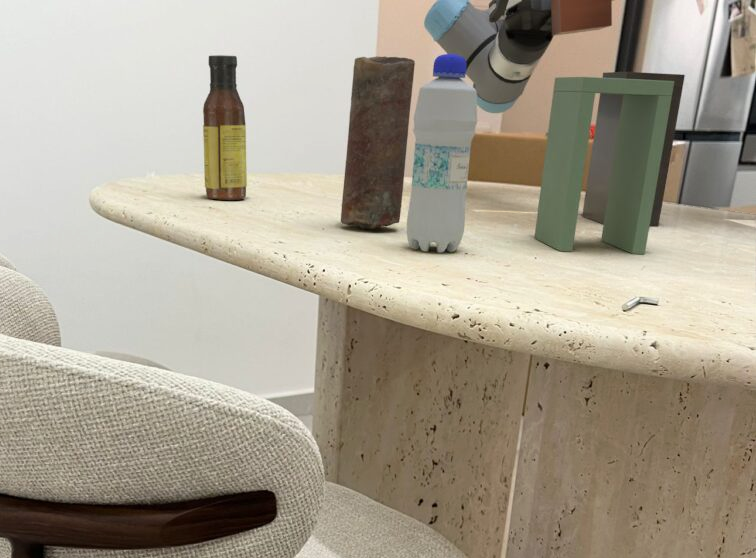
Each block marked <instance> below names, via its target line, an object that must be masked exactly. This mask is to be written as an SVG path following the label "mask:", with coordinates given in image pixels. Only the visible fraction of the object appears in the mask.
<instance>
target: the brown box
mask: <svg viewBox="0 0 756 558" xmlns="http://www.w3.org/2000/svg"><path fill="white" fill-rule="evenodd" d="M612 3H613V1H612V0H551V17H552V36H553V37H554V36H563V35H569V34H576V33H584V32H592V31H593V32H594V31H600V30H602V29H606V28H609V27H611V26H613V12H612V11H613V7H612V6H613V5H612Z"/></svg>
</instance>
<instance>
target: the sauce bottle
mask: <svg viewBox="0 0 756 558" xmlns="http://www.w3.org/2000/svg"><path fill="white" fill-rule="evenodd" d="M237 59H238V58H237V56H236V55H228V54H227V55H225V54H224V55H223V54H215V55H208V66H209V77H210V79H209V80H210V83H209V93H208V94H207V96H206V99H205V101H204V103H203V107H202V110H203V111H202V113H203V125H202V133H203V137H202V138H203V165H204V169H203V170H204V171H203V172H204V188H205V192H206V193H205V194H206V197H207V198H208V199H210V200H217V201H218V200H219V201H238V200H243V199H245V198H246V197H247V186H248V185H247V184H248V183H247V181H248V180H247V176H248V175H247V131H246V130H247V127H246V116H245V114H246V113H245V107H244V104H243V101H242V99H241V96H240V94H239V92H238V89H237V86H238V84H237V67H238V60H237Z"/></svg>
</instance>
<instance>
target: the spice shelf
mask: <svg viewBox="0 0 756 558" xmlns="http://www.w3.org/2000/svg"><path fill="white" fill-rule="evenodd" d="M685 77H686V74H680V73H660V72H659V73H657V72H640V71H614V72H610V71H609V72H602V77H601V78H620V79H640V80H659V81H674V86H673V92H672V98H671V104H670V110H669V116H668V121H667V127H666V133H665V139H664V145H663V151H662V156H661V162H660V168H659V174H658V180H657V185H656V191H655V197H654V203H653V209H652V214H651V220H650V226H649V227H659V225H660V220H661V219H660V218H661V213H662V208H663V201H664V196H665V190H666V184H667V179H668V174H669V168H670V162H671V156H672V152H673V151H672V150H673V146H674V145H673V144H674V139H675V134H676V128H677V122H678V117H679V110H680V105H681V99H682V94H683V88H684V83H685ZM623 96H624V95H622V94H601V93H599V97H598V105H597V112H596V119H595V126H594V132H593V138H592V147H591V153H590V158H589V160H590V161H589V166H588V167H589V168H588V174H587V181H586V188H585V195H584V201H583V207H582V215H581V216H582V217H583V218H587V219H589V220H592V221H595V222H597V223H600V224H602V225H604V218H605V212H606V205H607V199H608V192H609V186H610V180H611V173H612V167H613V160H614V154H615V147H616V141H617V134H618V128H619V121H620V115H621V108H622V102H623Z"/></svg>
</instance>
